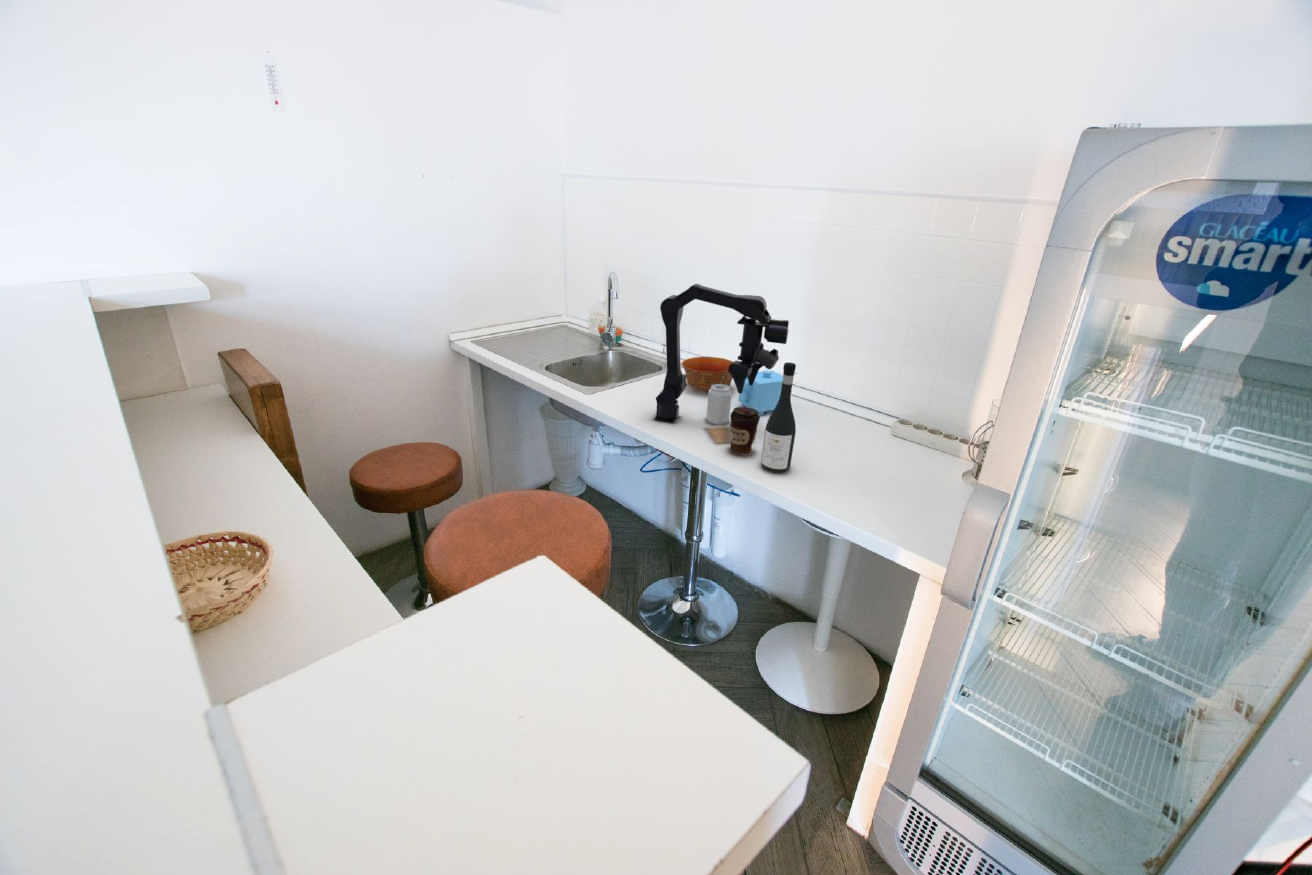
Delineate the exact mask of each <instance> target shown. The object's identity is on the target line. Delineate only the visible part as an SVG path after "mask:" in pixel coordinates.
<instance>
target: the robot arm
mask: <svg viewBox="0 0 1312 875" xmlns="http://www.w3.org/2000/svg"><path fill="white" fill-rule="evenodd" d="M694 300H698V301H701V302H706V303H709V304H713V305H717V306H720V307H724V308H728V309H732V310H734V311H736V312H737V313H739V314H740V315H742V317H741V318H739V319H738V320H737V322H736V323H737V325H743V329H742V338H741V341H740V342H739V344H738V347H740V353H739V355H738V356H737V360H735V361H733V363H731V364H730V365H728V372H730V374H731V375H732V381H733V383H734V385H735V389H736V391H737V393H738V394H739V393H742V391H743V388H744V384H745V381H746V378H747V377H748V382H749V385H751V386H752V385H753V383H754V381H755V378H756V376H757V374H758V372H760V369H761V368H763V367H764V368H765V369H766V370H772V369H773V368H774V367H775V366H776V364H777V362H778V361H779V360H780V359H779V358H780V356H779V350H778V349H776V348H772V349H771V350H770V351H769V349H765V348H764V343H763V342H762V338H763V339H765V341H766V342H767V343H773V344H781V345H787V342H788V337H789V325H790V324H789V323H790V321H789V319H788V320H787V319H775V318H774V319H772V316H771V314H770V312H769V310H768V309H767V301H766V299H765V298H764V297H763V296H760V295H754V294H753V295H751V294H735V293H730V292H728V291H723V290H719V289H716V288H713V287H708V286H704V285H702V284H700V283H694V284H692V285H691V286H689V287H688V289H685V290H683V292H681V293H679V294H672V295H670V296H668V297H666V298H665V299H663V300H662V302H660V306H659V310H660V314H661V319H662V322H663V324H664V326H665V347H666V348H665V349H666V354H665V355H666V373H665V377H664V382H663V388H662V390H661V391H660V392H659V393H658V395H656V396H655V401H656V416H655V417H654V420H655V421H660V422H667V423H671V424H672V423H674V422H675V421H676V420H677V419H678V418H679V416H680V404H679V400H678V399H679V398H680V397H681V395H682V394H683V393H684V391H685V390H686V388H687V386H688V383H687V374H686V373H683V371H682V369H681V332H680V331H681V323H682V322H681V321H682V317H683V314H684V307H685V306H686V305H688V304H690V303H692V302H693V301H694Z"/></svg>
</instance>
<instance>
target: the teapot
mask: <svg viewBox="0 0 1312 875" xmlns="http://www.w3.org/2000/svg"><path fill="white" fill-rule="evenodd" d="M796 374H797V372H796V371H795V372H794V376H795V375H796ZM782 380H783V374H781V373H779V372H776V371H775V370H772V369H771V370H769V369H766V370H762V371H758V374H757V376H756V378H755V381H754V383H753V385H752V386H751V385H749V382H748V377H747V378H746V381H745V384H744V388H743V391H742V393H738V400H737V401H738V402H739V403H740V404H742V405H743V406H744V407H747V408H753V409H756V410H757V411H758V412H759V413H758V415H759V416H764V414H765V412H768V411H771V413H772V412H773V410H774V408H775V407H776V405H777V403H778V401H779V398H780V394H781V387H782Z"/></svg>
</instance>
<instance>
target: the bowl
mask: <svg viewBox="0 0 1312 875" xmlns="http://www.w3.org/2000/svg"><path fill="white" fill-rule="evenodd" d="M733 362H734V361H733V360H730V359H728V358H723V357H715V356H695V357H690V358H687V359H684V360H683V361H682V362H681V366H682V368H683V370H684V373H685V374H687V377H686V383H687V386H689V387H690V388H693V389H696V390H699V391H703V392H709V389H711V386H712V385H714V384H723V385H727V386H729V387H730V386H731V383H732V381H733V378H732V375H731V374H730V372H728V365H730V364H731V363H733Z"/></svg>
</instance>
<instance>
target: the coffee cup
mask: <svg viewBox="0 0 1312 875" xmlns="http://www.w3.org/2000/svg"><path fill="white" fill-rule="evenodd" d="M758 413H759V412H758V411H757V410H756V409H753V408H747V407H745V406H744V407H743V406H742V407H741V406H738V407H734V408H733V409H732V411H731V412H730V414H729V420H730V426H729V428H730V441H731V443H730V447H729V451H730V452H731V453H732V454H734V455H737V456H750V455H752V453H753V450H752V446H753V443H754V441H755V440H756V435H757V432H758V425H759V422H760V419H761V415H758Z"/></svg>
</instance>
